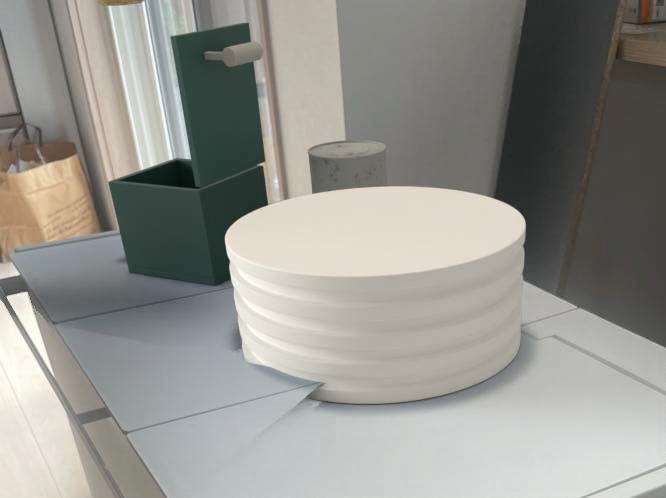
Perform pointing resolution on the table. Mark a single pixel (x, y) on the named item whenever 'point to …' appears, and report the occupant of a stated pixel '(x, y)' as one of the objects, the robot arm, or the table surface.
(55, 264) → the table surface
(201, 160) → the lid
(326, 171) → the speckled concrete cylinder
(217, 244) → the chest
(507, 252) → the plate stack
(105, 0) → the sprinkles bottle
